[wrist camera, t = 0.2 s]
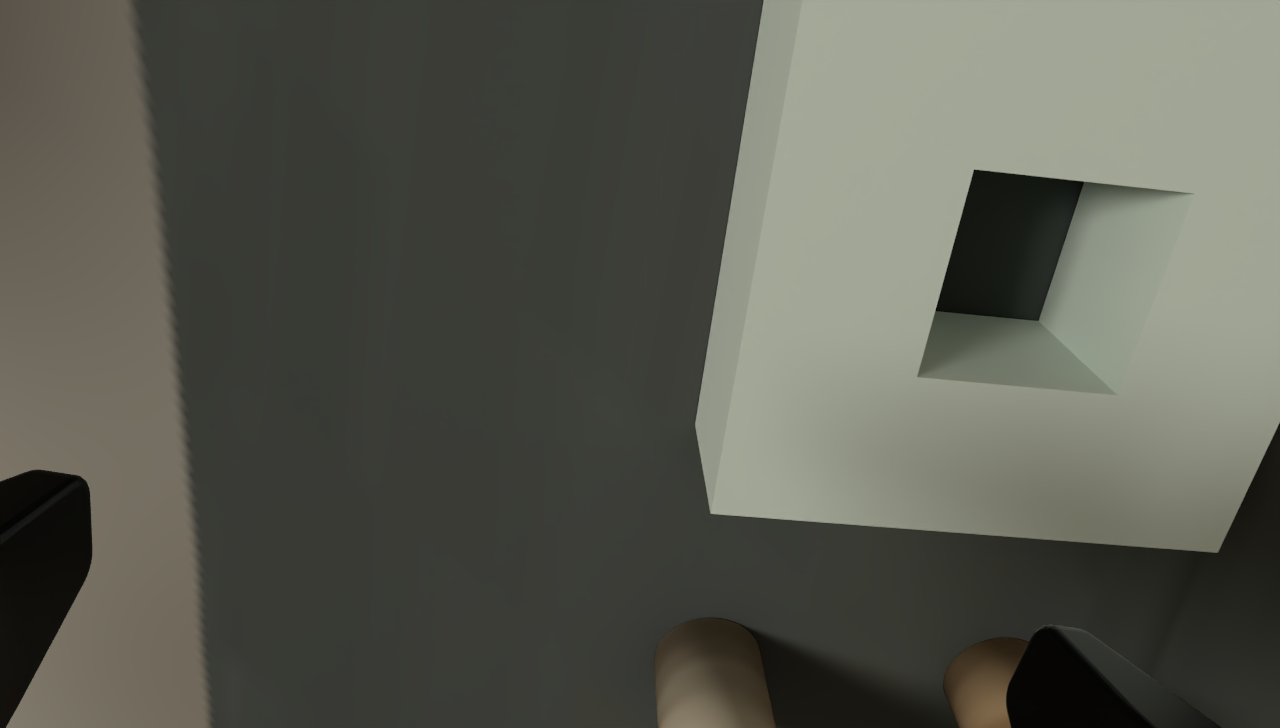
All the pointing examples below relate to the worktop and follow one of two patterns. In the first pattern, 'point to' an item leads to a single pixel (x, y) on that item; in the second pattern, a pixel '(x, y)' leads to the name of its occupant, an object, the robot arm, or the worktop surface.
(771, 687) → the worktop surface
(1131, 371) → the hole block
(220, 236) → the worktop surface
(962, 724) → the short dowel
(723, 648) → the long dowel
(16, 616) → the robot arm
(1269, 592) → the worktop surface
